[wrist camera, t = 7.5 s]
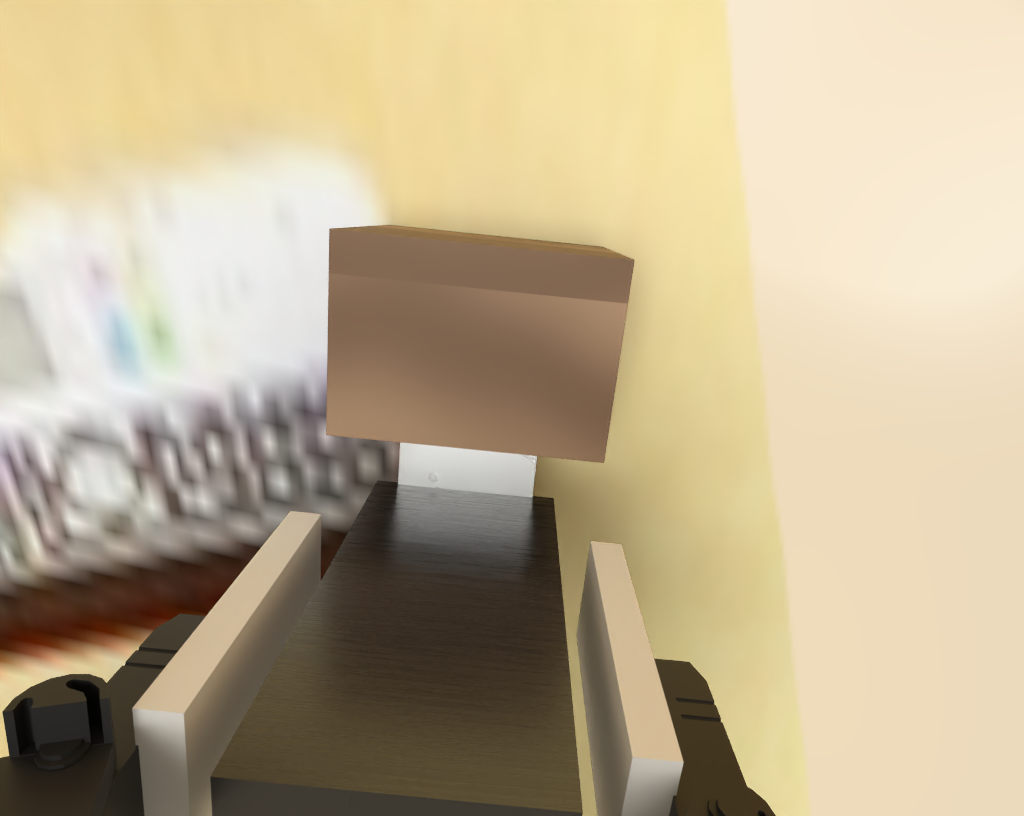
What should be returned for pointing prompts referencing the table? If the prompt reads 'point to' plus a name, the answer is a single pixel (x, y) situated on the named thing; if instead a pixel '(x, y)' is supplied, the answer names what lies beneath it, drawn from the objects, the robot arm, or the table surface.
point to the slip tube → (422, 661)
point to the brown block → (474, 340)
